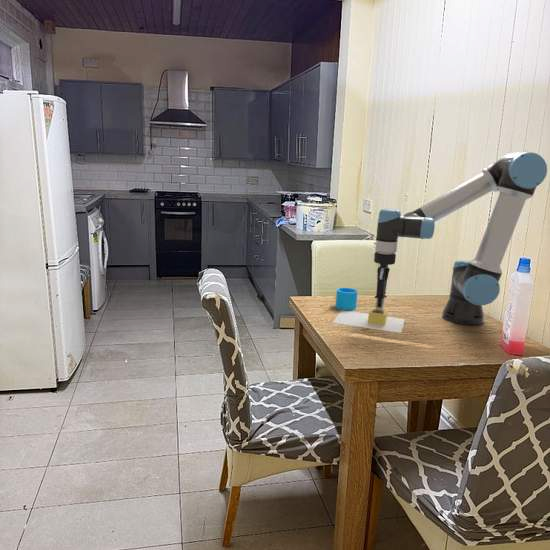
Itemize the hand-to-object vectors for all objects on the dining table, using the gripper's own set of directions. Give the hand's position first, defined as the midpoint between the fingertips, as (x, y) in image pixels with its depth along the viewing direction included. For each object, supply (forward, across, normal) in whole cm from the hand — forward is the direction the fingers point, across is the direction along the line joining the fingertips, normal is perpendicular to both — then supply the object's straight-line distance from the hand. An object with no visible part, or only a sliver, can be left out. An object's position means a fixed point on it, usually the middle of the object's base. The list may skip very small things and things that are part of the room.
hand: (378, 314), depth 188 cm
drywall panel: (+3, +4, -3) cm, 6 cm away
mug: (+3, -12, -14) cm, 18 cm away
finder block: (+2, +4, 0) cm, 4 cm away
